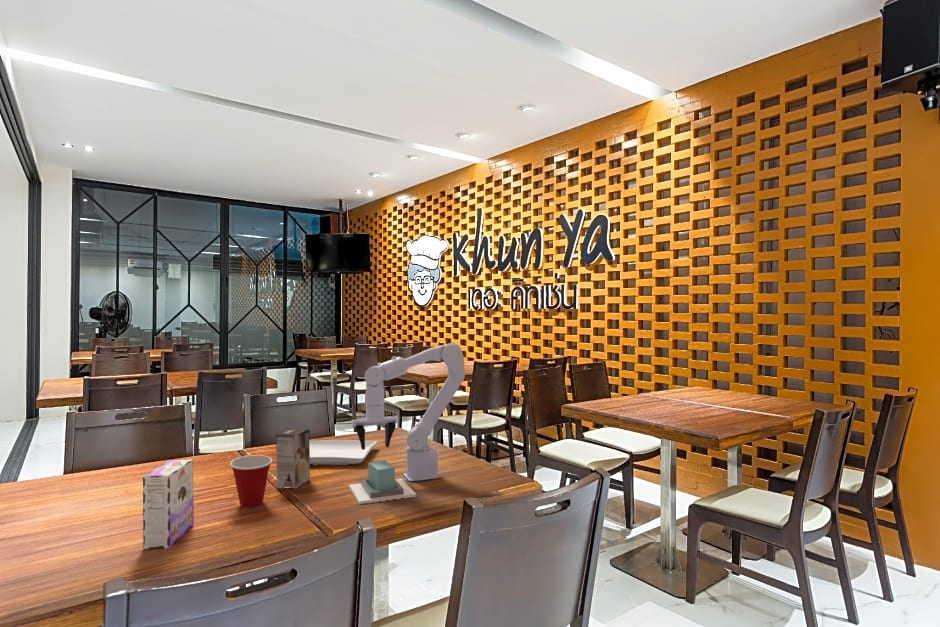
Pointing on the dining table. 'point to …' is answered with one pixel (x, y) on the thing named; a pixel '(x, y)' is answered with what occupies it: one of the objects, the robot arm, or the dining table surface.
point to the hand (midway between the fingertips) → (375, 447)
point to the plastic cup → (251, 478)
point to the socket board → (380, 492)
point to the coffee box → (292, 458)
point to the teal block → (381, 475)
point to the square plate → (338, 451)
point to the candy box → (167, 504)
